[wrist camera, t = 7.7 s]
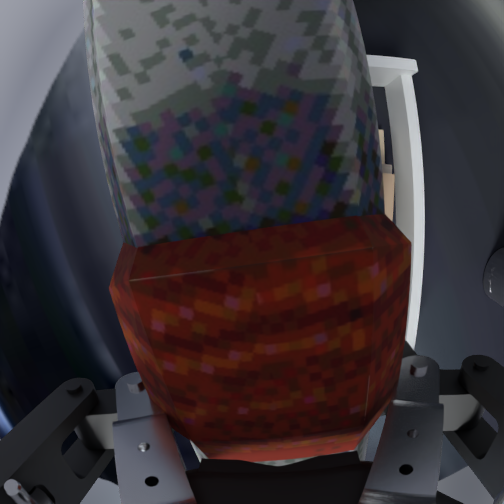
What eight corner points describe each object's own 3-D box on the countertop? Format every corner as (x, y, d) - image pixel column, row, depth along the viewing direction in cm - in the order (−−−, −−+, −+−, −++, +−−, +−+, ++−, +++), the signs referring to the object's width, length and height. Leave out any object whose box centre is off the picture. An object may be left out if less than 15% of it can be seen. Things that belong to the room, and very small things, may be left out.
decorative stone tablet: (50, -88, 2) (249, 571, 11) (326, -150, 2) (352, 561, 11) (199, 64, 20) (258, 390, 30) (284, 51, 20) (321, 382, 29)
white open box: (392, 77, 35) (422, 54, 25) (397, 346, 44) (421, 381, 34) (229, 80, 37) (216, 53, 27) (255, 360, 46) (251, 402, 36)
